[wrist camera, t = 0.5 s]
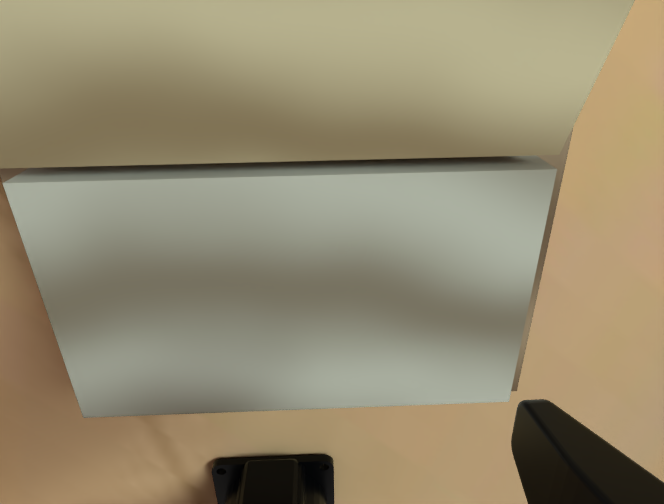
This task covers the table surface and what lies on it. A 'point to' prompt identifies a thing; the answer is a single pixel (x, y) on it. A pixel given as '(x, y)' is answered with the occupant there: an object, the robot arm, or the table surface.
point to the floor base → (289, 279)
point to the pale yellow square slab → (294, 79)
